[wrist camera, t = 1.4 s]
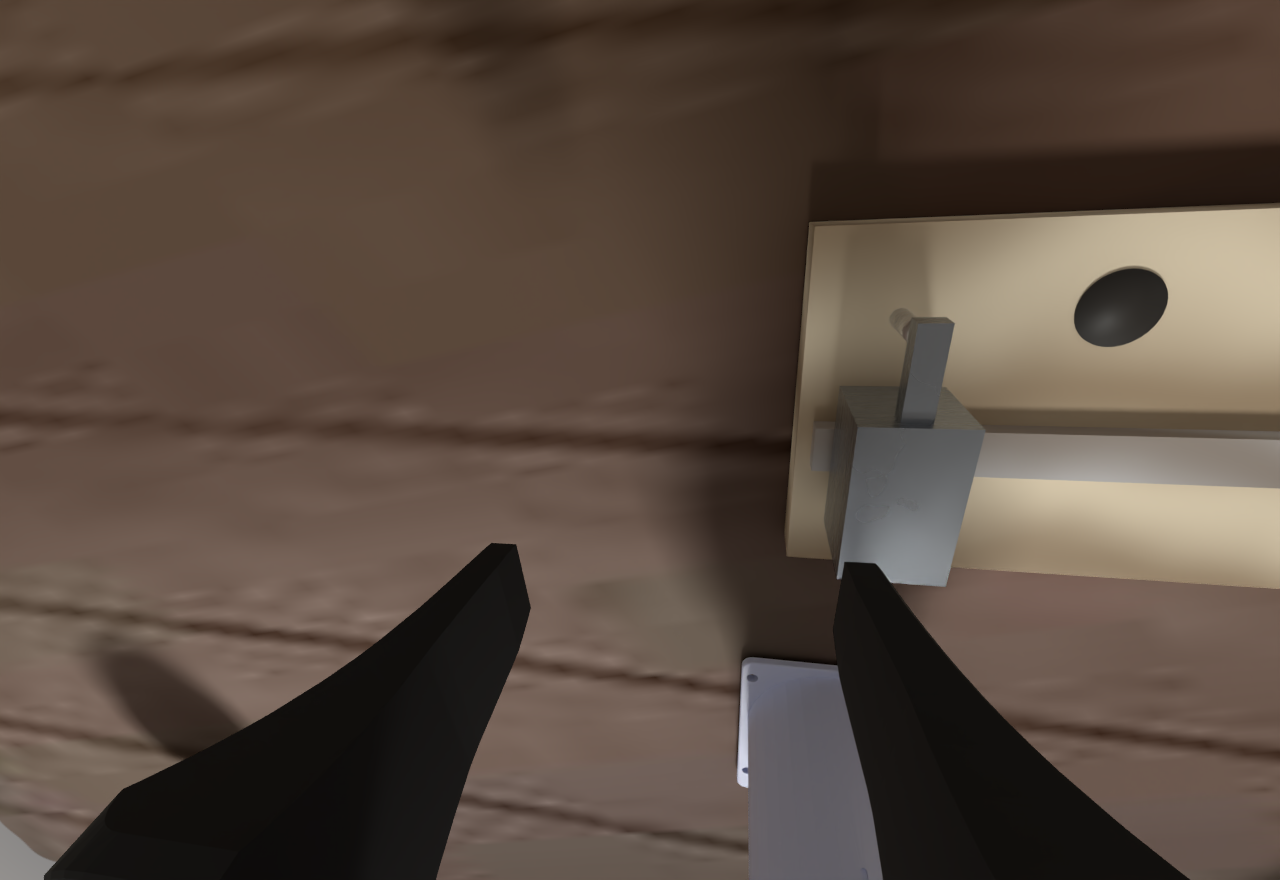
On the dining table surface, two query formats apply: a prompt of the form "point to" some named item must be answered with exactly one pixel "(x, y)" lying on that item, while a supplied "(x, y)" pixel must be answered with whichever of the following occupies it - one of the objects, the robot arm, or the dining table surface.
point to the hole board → (1070, 382)
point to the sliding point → (903, 464)
